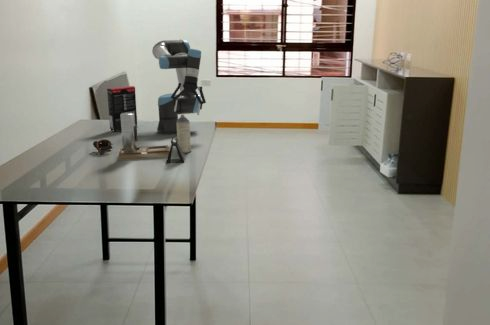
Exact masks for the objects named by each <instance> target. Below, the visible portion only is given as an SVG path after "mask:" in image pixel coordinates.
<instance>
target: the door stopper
mask: <svg viewBox="0 0 490 325" xmlns="http://www.w3.org/2000/svg"><path fill="white" fill-rule="evenodd" d="M174 147H175V150H176V153H177V154H178V157H179V158H172V154H173V150H174ZM169 149H170V151H169V154H168V157H166V162H165V163H166V164H181V163H182V164H183V163H185V160H186V158H185V156H184V153H182V151H181V149H180V146H179V144H178V138H177V136H172V138H171V140H170V147H169Z"/></svg>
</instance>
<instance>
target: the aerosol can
mask: <svg viewBox="0 0 490 325" xmlns="http://www.w3.org/2000/svg"><path fill="white" fill-rule="evenodd" d="M176 124H177V133H176V135H177V136H176V137H177V138H178V144H179V146H180V149H181V151H182V153H183V154H189V153H191V152H192V143H191V126H190V120H189V119H188V118H187V117H186V116H185V114H180V116H179V117H178V120H177V122H176Z"/></svg>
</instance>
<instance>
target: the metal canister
mask: <svg viewBox="0 0 490 325" xmlns="http://www.w3.org/2000/svg"><path fill="white" fill-rule="evenodd" d="M120 118H121V129H122V130H121V136H122V137H121V138H122V139H121V140H122V148H123V151H124V153H131V152H137V147H138V141H139V139H138V138H139V136H138V123H137V124H135V116H134V113H123V114H120Z"/></svg>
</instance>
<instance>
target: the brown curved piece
mask: <svg viewBox="0 0 490 325" xmlns="http://www.w3.org/2000/svg"><path fill="white" fill-rule="evenodd" d="M92 146H93V147H94V148H95V149H96V151H97V150H98V151H97V154H98V153H101V154H103V153H106V152H108V151H111V150H110V149H113V143H112V142H111V140H110V139H106V138H105V139H103V138H102V139H100V140H94V141H93V142H92Z"/></svg>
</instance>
